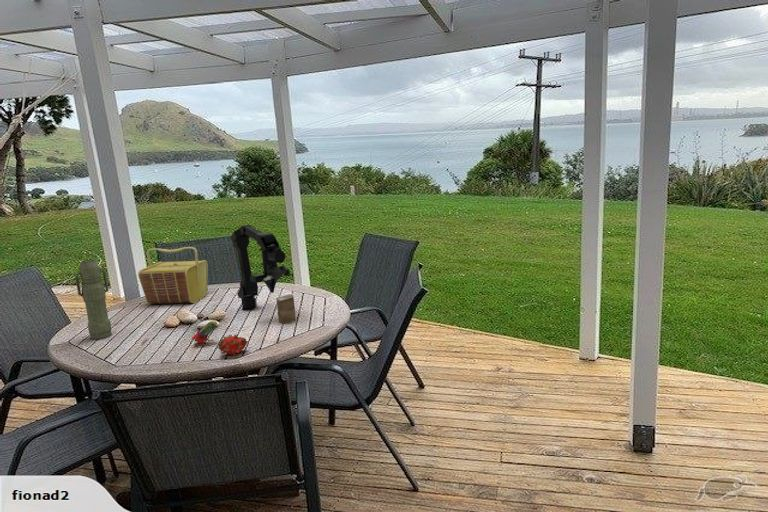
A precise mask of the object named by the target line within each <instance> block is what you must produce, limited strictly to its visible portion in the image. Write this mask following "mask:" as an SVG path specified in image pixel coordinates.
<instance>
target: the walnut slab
mask: <svg viewBox="0 0 768 512" xmlns="http://www.w3.org/2000/svg"><path fill="white" fill-rule="evenodd" d="M276 309H277V318H278V319H277V320H278V323H279V324H281V325H284V324H285V325H286V324H288V323H291V322H294V321H295V322H296V321H297V320H296V319H297V317H296V308H295V299H294V295H293V294H290V293H289V294H285V295H282V296H278V297H276Z"/></svg>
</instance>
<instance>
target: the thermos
mask: <svg viewBox="0 0 768 512" xmlns="http://www.w3.org/2000/svg"><path fill="white" fill-rule="evenodd" d="M101 273H102V274H103V275H102V276H103V280H104V281H103V280H102V279H101V277H102V276H101ZM79 277H80V279H79ZM107 278H108V277H107V272H106V271H105V270H104V269H103V268H102V269H101V268H100V265H99V263H98V261H97V260H96V259H86V260H82V261H80V264H79V272H78V273H76V275H75V277H74V279H75V285H76V290H77V295H78V296H79V297H82V301H83V302H84V304H85V309H86V315H87V320H88V322H87V329H88V334H89V336H90V340H92V341H97V340H100V341H101V340H104V339H108V338H110V337H111V336H113V333H112V323H111V320H110V318H109V315H108V308H107V303H106V297H107V296H106V293H107V292H109V283H108V279H107ZM79 280H81V285H82V286H80V281H79ZM102 281H103V282H104V283H103V282H102Z"/></svg>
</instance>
